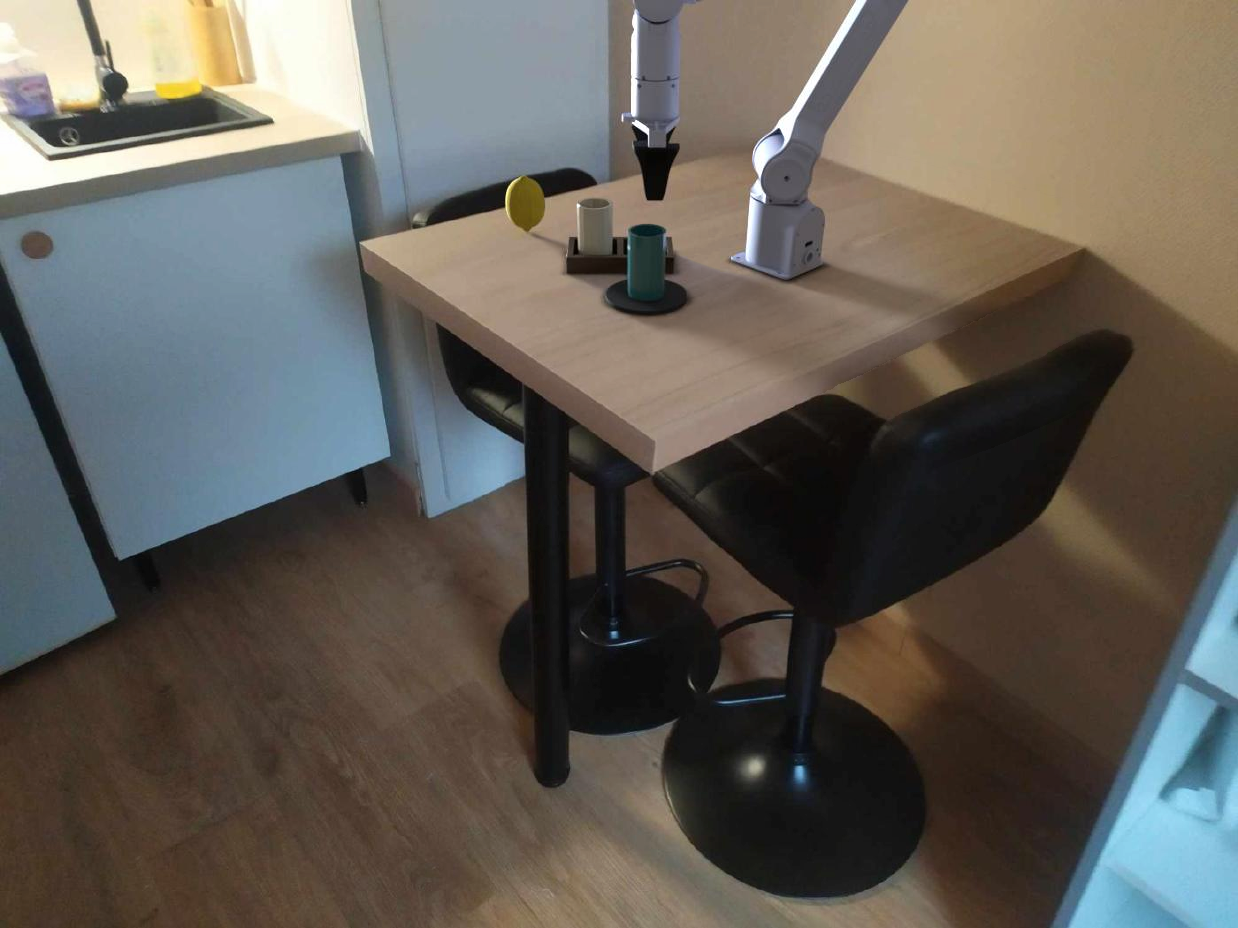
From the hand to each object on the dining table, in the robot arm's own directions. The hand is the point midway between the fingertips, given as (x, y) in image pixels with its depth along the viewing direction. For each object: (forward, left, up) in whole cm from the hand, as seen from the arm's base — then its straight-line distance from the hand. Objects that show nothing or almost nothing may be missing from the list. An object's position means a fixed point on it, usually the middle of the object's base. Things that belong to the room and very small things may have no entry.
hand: (653, 190), depth 117 cm
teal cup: (-8, +9, -9) cm, 15 cm away
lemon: (+20, +5, -10) cm, 23 cm away
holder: (+3, +3, -10) cm, 10 cm away
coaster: (-8, +9, -10) cm, 15 cm away
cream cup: (+5, +6, -10) cm, 12 cm away
